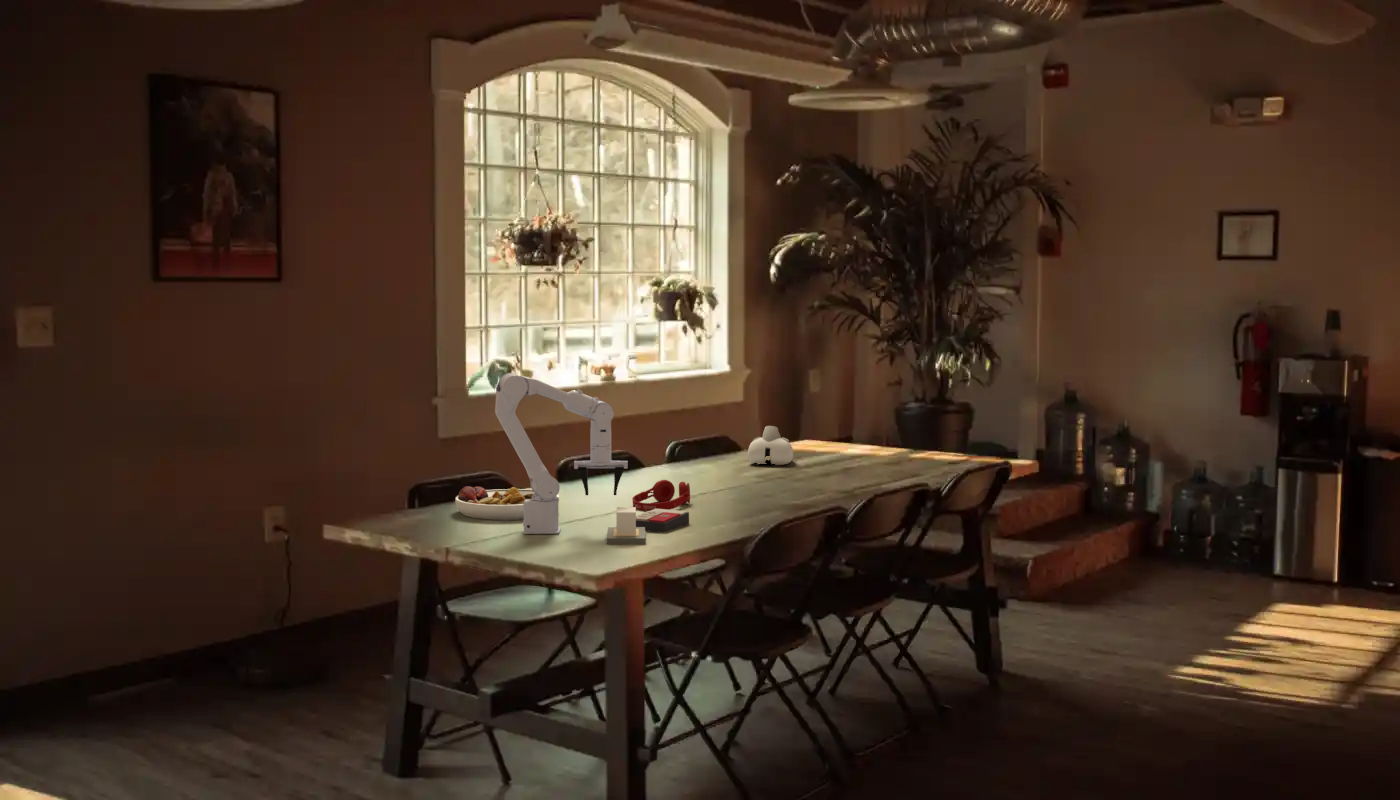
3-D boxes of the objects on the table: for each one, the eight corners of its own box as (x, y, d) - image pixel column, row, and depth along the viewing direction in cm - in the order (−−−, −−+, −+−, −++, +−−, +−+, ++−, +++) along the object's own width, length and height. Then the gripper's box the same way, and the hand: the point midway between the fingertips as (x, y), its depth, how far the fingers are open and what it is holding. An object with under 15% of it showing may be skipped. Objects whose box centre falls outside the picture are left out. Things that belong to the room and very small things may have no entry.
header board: (606, 544, 352) (606, 525, 351) (607, 532, 367) (607, 514, 367) (645, 544, 352) (645, 524, 352) (645, 532, 368) (645, 514, 367)
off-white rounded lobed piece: (815, 464, 505) (815, 425, 504) (766, 469, 492) (766, 429, 491) (778, 458, 523) (779, 420, 522) (730, 462, 510) (730, 423, 509)
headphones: (660, 498, 424) (624, 516, 407) (659, 476, 422) (622, 493, 406) (701, 502, 416) (665, 521, 400) (699, 480, 415) (663, 498, 398)
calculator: (628, 517, 373) (654, 506, 386) (629, 532, 373) (655, 521, 386) (664, 520, 368) (689, 509, 381) (664, 536, 368) (689, 524, 382)
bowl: (566, 505, 413) (566, 480, 412) (549, 523, 383) (549, 495, 382) (468, 504, 415) (468, 478, 414) (444, 521, 385) (444, 494, 384)
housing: (616, 535, 355) (616, 512, 355) (617, 529, 363) (616, 507, 363) (635, 535, 356) (635, 512, 355) (635, 529, 364) (635, 507, 363)
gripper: (573, 447, 367) (573, 497, 368) (627, 447, 368) (627, 496, 369) (574, 444, 374) (574, 493, 375) (627, 443, 375) (627, 492, 376)
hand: (601, 494), depth 373 cm, fingers open, 7 cm apart
